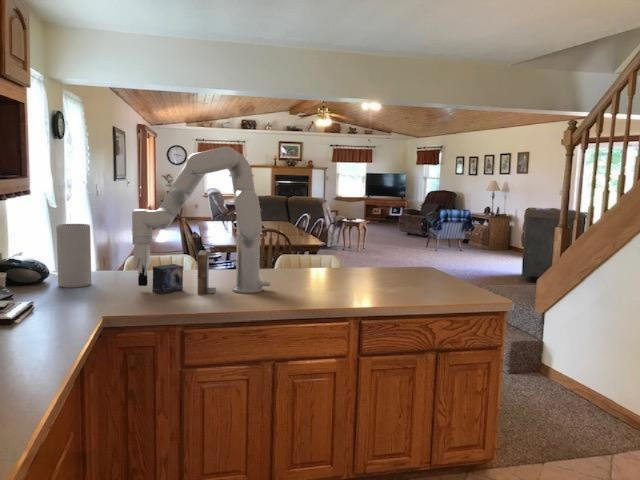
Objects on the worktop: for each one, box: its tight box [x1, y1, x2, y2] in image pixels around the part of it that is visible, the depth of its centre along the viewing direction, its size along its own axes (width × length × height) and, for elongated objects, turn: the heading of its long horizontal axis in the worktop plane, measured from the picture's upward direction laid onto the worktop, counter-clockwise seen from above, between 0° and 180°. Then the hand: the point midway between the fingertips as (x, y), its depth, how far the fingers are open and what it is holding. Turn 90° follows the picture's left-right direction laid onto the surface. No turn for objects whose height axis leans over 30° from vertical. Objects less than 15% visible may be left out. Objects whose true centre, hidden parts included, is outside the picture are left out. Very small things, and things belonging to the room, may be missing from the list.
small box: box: [152, 263, 184, 295], centre depth 205 cm, size 11×6×10 cm, turn 143°
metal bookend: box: [205, 254, 217, 295], centre depth 207 cm, size 4×11×14 cm, turn 9°
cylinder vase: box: [55, 223, 92, 289], centre depth 209 cm, size 12×12×25 cm
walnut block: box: [197, 249, 208, 296], centre depth 207 cm, size 3×12×16 cm, turn 9°
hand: (142, 285), depth 204 cm, fingers closed
